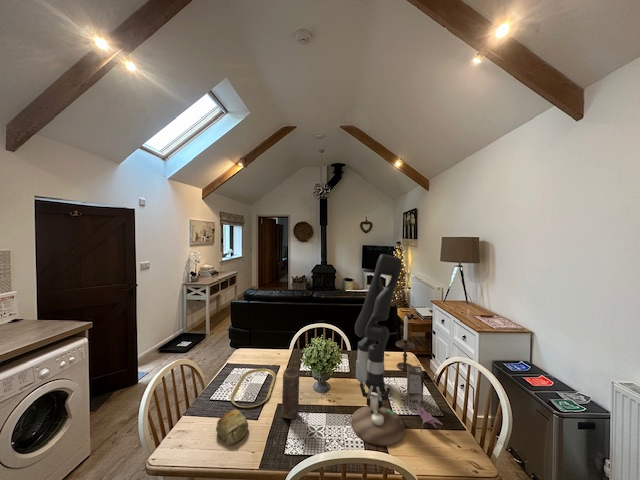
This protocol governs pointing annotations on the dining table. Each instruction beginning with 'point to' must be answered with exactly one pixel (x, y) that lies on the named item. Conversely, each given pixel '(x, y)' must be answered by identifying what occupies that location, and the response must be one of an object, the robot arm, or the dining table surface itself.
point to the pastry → (232, 427)
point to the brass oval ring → (242, 381)
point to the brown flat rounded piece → (378, 427)
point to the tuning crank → (374, 405)
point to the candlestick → (404, 346)
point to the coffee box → (415, 386)
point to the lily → (426, 416)
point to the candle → (290, 393)
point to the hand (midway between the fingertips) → (374, 406)
